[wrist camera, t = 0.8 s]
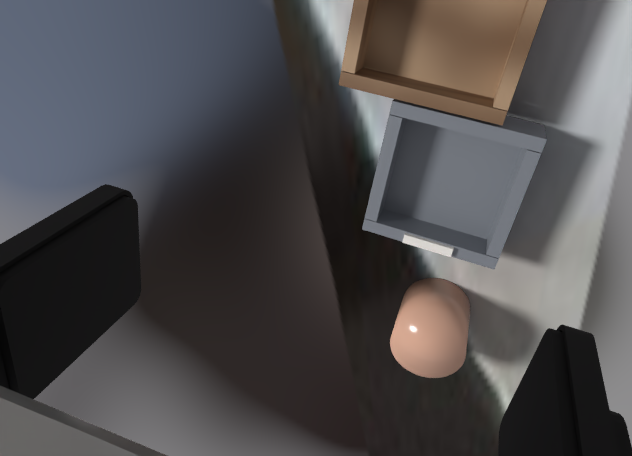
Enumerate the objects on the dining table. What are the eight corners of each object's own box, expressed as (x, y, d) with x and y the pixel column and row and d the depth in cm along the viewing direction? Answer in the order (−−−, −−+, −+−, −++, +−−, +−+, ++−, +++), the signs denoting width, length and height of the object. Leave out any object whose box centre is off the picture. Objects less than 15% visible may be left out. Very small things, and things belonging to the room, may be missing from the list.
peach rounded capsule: (411, 269, 38) (400, 307, 34) (479, 290, 37) (475, 332, 33) (396, 321, 41) (383, 362, 36) (459, 342, 40) (453, 387, 35)
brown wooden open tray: (386, -100, 28) (373, -106, 26) (566, -69, 26) (572, -73, 24) (352, 75, 33) (338, 85, 30) (503, 111, 31) (502, 125, 29)
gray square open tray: (401, 90, 33) (391, 102, 30) (543, 124, 31) (547, 141, 28) (371, 210, 37) (361, 231, 34) (495, 247, 35) (494, 271, 32)
